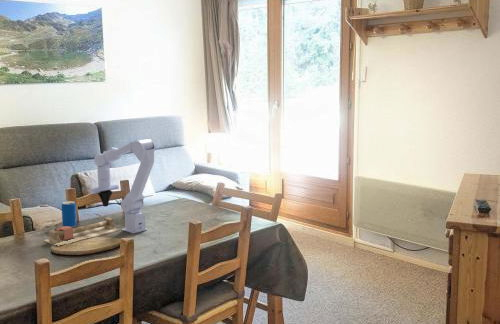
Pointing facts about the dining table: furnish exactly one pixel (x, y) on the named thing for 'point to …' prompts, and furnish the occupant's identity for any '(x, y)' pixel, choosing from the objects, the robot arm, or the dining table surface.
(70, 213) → the beverage can
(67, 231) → the salmon red block
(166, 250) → the dining table surface
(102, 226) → the rod rig
